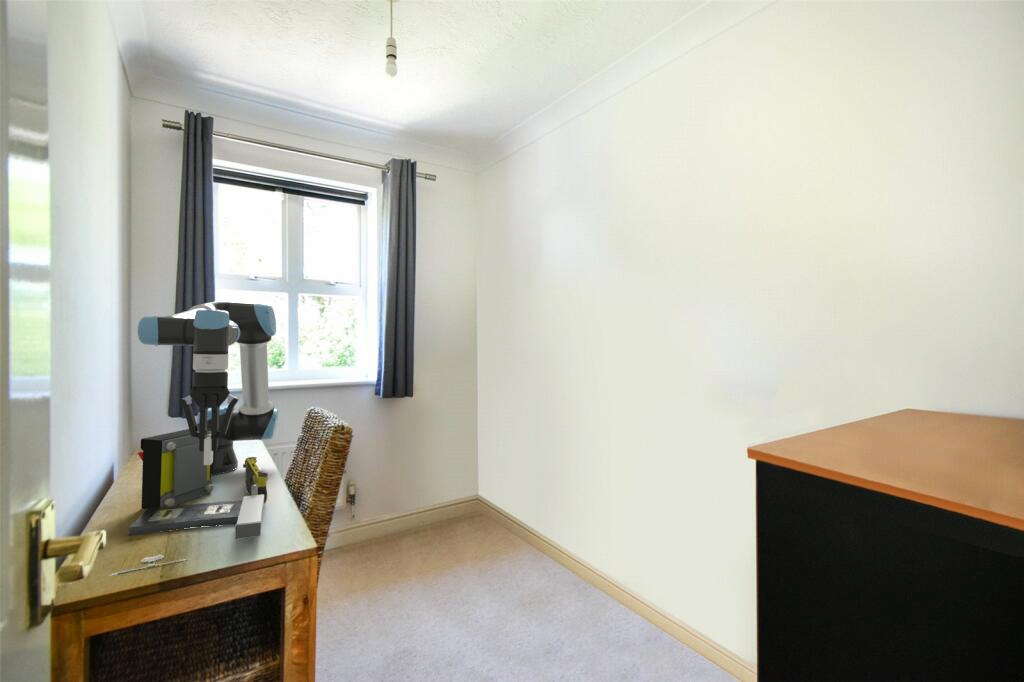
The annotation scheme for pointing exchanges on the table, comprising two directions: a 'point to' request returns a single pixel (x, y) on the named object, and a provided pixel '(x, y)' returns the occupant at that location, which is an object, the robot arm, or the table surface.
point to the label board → (188, 516)
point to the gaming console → (255, 477)
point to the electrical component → (173, 469)
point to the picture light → (148, 565)
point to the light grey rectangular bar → (250, 517)
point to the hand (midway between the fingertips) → (208, 463)
